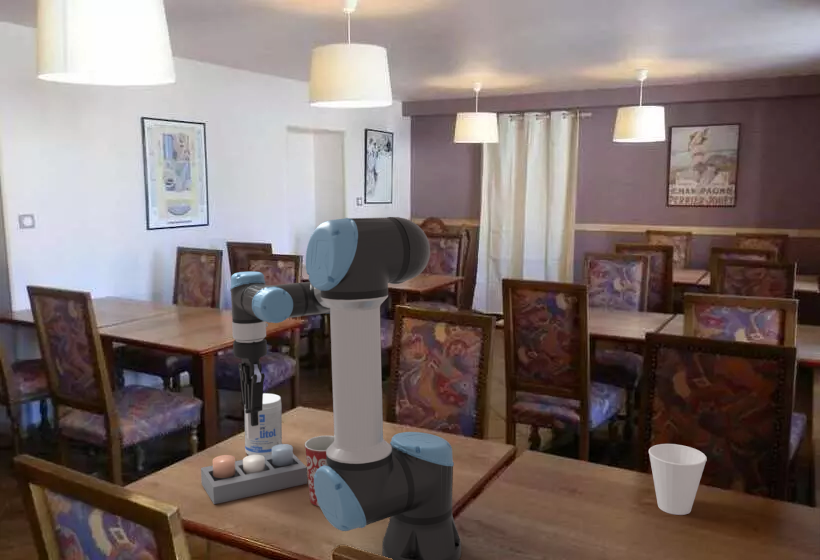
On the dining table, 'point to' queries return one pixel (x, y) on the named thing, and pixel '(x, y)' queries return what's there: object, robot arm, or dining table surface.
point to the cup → (676, 476)
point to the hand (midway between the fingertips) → (253, 437)
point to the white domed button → (253, 464)
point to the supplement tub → (266, 427)
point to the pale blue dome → (282, 454)
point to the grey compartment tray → (253, 480)
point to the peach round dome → (224, 466)
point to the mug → (316, 460)
